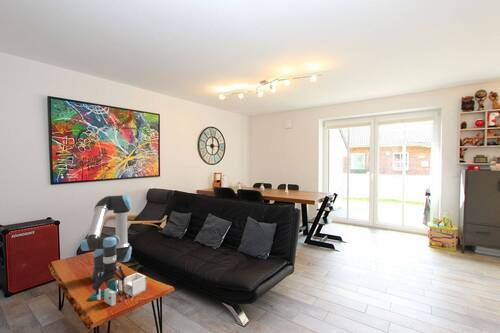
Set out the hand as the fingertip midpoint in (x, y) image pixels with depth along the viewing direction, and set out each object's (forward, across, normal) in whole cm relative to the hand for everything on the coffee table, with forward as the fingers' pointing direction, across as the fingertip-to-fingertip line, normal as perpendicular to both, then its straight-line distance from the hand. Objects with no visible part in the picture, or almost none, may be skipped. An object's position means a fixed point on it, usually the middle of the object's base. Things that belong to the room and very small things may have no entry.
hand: (109, 294), depth 159 cm
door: (+6, 0, 0) cm, 6 cm away
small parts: (+6, +8, +2) cm, 10 cm away
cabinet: (+6, +18, 0) cm, 19 cm away
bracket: (+6, +4, +14) cm, 16 cm away
